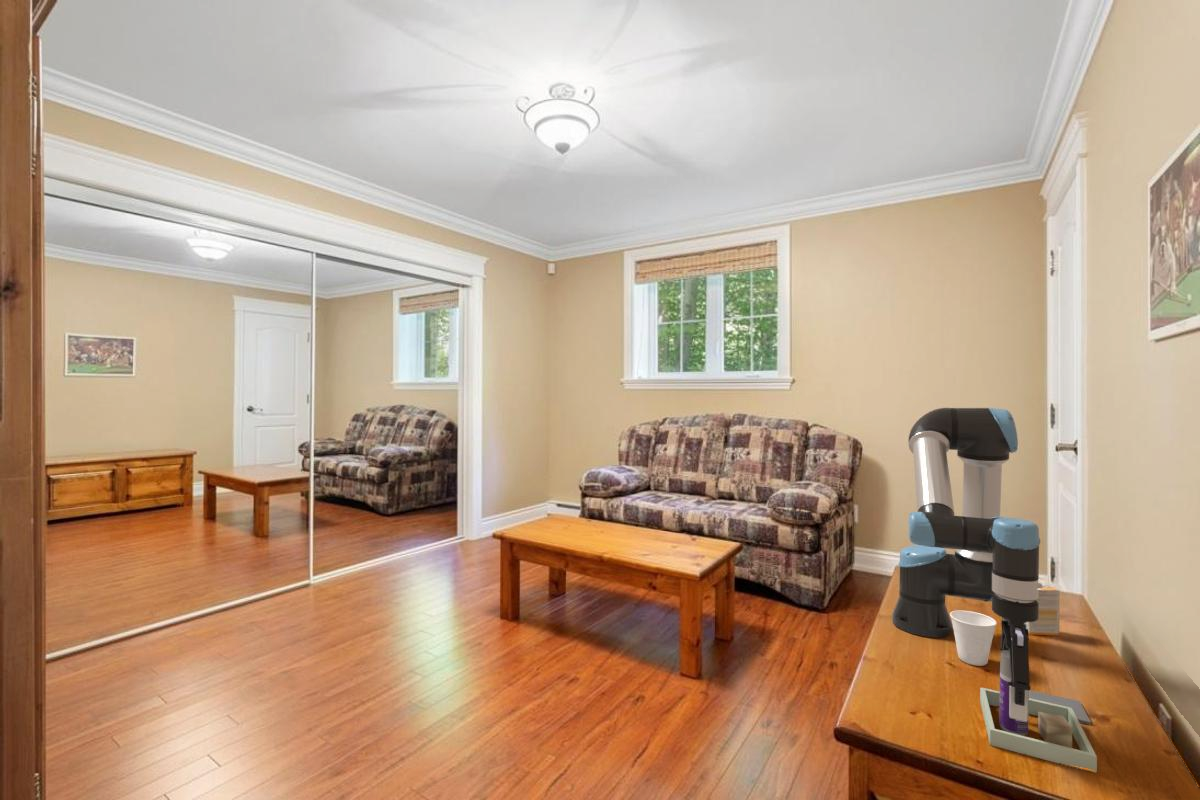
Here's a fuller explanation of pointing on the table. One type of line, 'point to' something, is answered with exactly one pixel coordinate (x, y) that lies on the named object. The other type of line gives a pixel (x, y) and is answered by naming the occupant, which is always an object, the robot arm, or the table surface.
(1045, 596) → the supplement box
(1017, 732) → the container
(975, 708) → the table surface
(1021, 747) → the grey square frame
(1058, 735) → the maple block
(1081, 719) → the pad
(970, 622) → the cup
